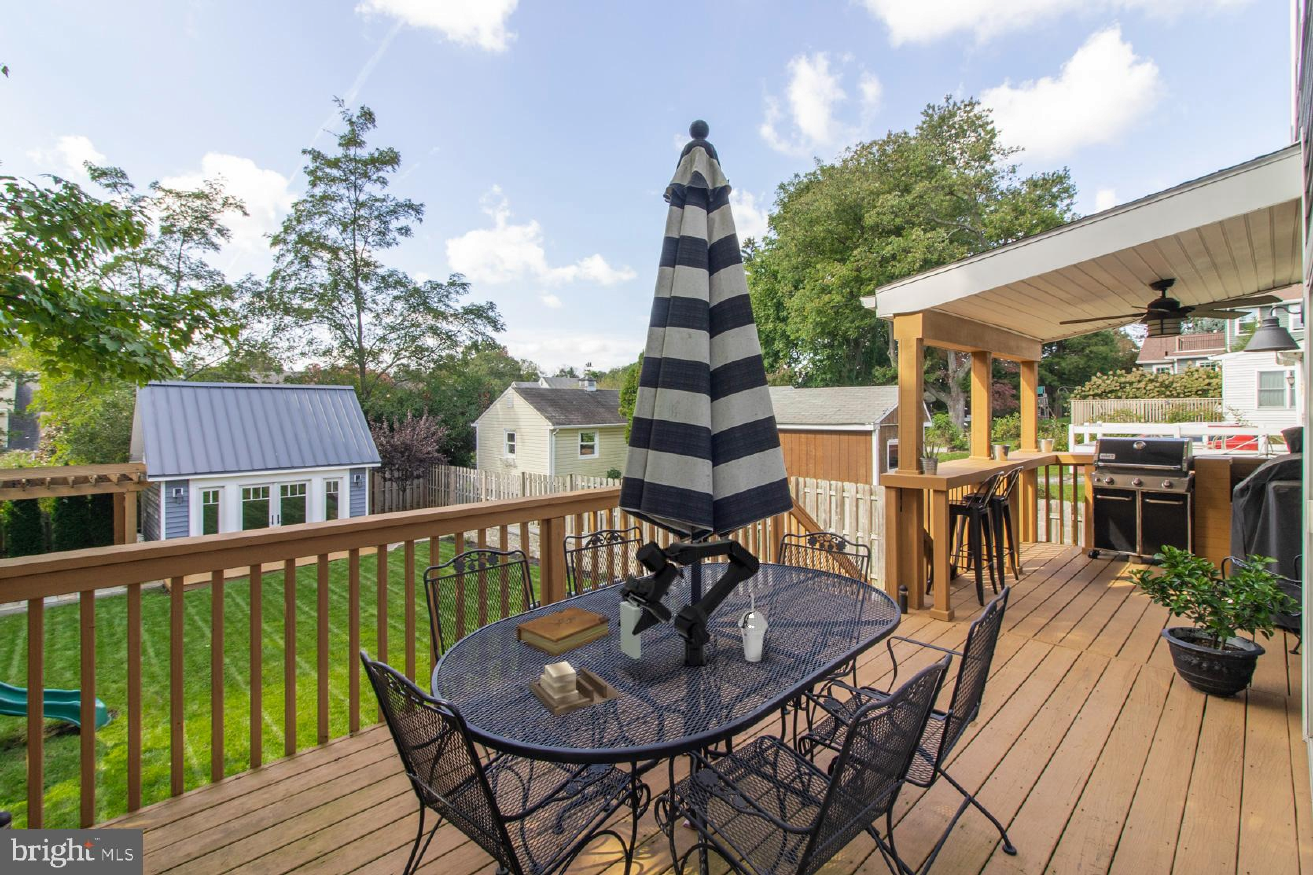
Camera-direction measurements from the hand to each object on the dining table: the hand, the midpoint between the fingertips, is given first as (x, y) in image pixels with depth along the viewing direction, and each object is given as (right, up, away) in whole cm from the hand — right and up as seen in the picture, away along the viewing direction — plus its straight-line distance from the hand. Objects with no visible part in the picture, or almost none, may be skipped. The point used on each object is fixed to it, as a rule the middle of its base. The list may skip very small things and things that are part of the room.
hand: (625, 630), depth 154 cm
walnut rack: (-12, -14, -7) cm, 20 cm away
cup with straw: (+36, -13, +14) cm, 41 cm away
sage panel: (+1, -7, +1) cm, 7 cm away
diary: (-21, -13, +31) cm, 40 cm away
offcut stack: (-16, -13, -10) cm, 23 cm away
